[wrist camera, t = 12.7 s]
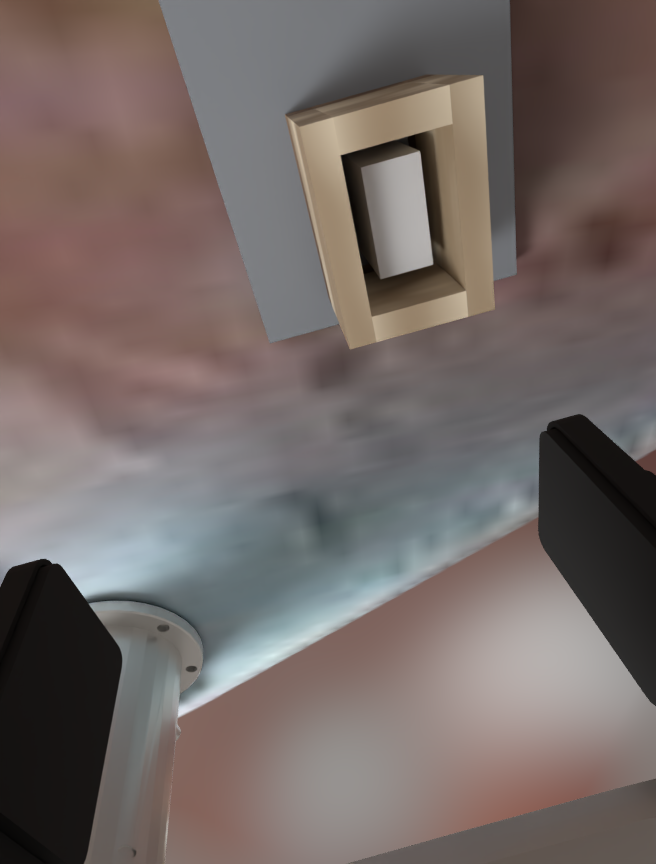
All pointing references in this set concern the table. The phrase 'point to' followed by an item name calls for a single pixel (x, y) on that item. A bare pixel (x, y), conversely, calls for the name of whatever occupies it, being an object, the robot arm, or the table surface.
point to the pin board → (316, 72)
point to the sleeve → (445, 199)
